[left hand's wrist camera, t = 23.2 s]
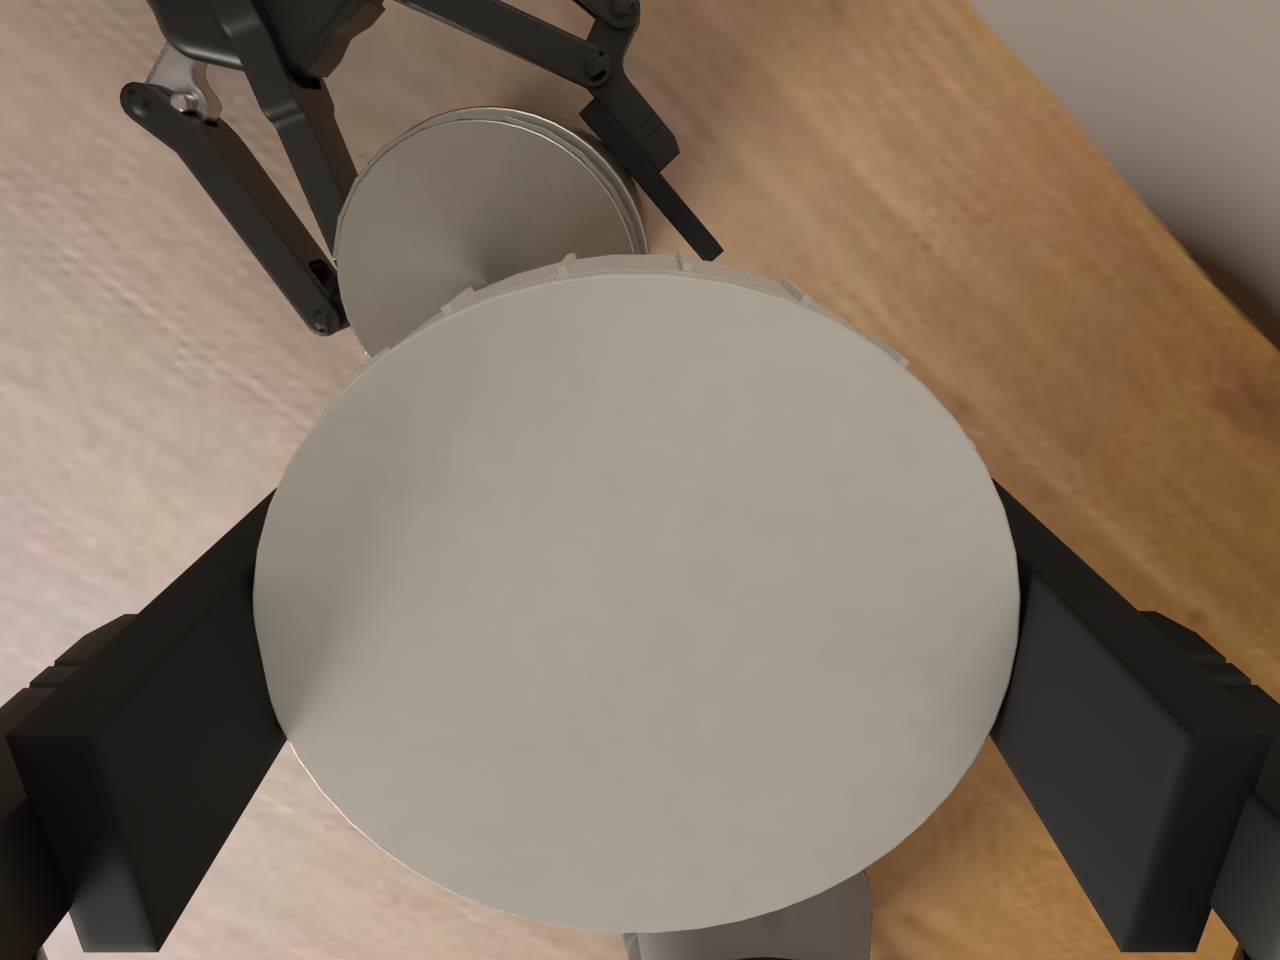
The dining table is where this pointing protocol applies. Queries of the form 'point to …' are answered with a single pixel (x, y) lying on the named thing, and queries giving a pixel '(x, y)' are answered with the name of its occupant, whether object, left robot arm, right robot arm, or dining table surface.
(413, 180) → the jar
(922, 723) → the lid
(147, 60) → the dining table surface
